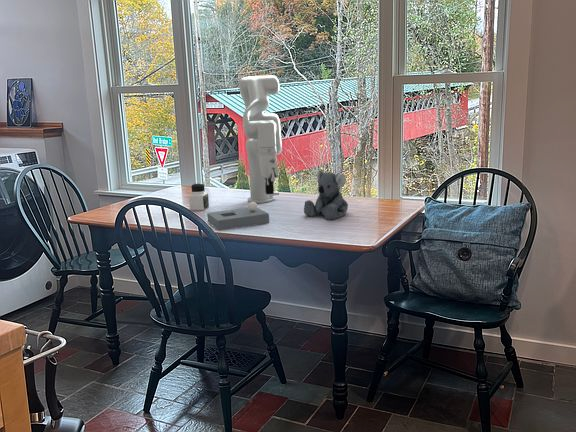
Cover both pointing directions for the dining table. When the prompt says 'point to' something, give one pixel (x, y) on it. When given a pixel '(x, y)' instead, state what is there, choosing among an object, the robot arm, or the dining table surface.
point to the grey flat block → (237, 218)
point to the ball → (252, 206)
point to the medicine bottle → (198, 197)
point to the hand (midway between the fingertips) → (269, 193)
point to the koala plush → (328, 197)
